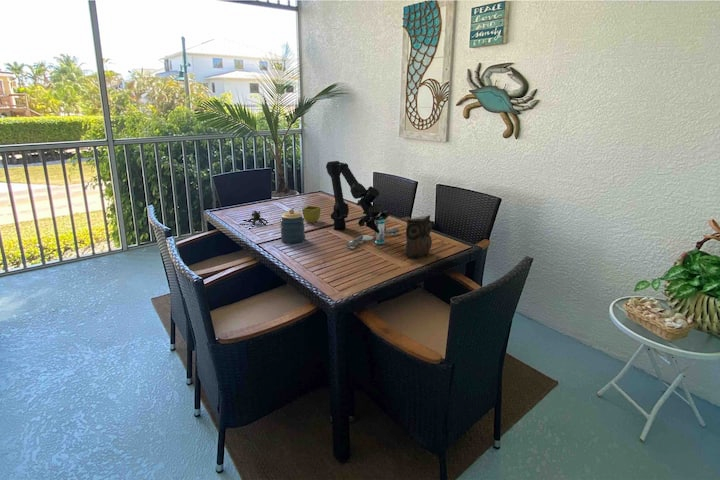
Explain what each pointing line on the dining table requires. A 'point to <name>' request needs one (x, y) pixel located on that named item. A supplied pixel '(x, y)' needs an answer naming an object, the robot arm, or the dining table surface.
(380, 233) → the coupling
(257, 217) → the octopus toy
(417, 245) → the owl
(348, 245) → the shaft
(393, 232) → the shaft
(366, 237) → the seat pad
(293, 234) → the canister
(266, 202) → the dining table surface
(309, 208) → the flower pot
